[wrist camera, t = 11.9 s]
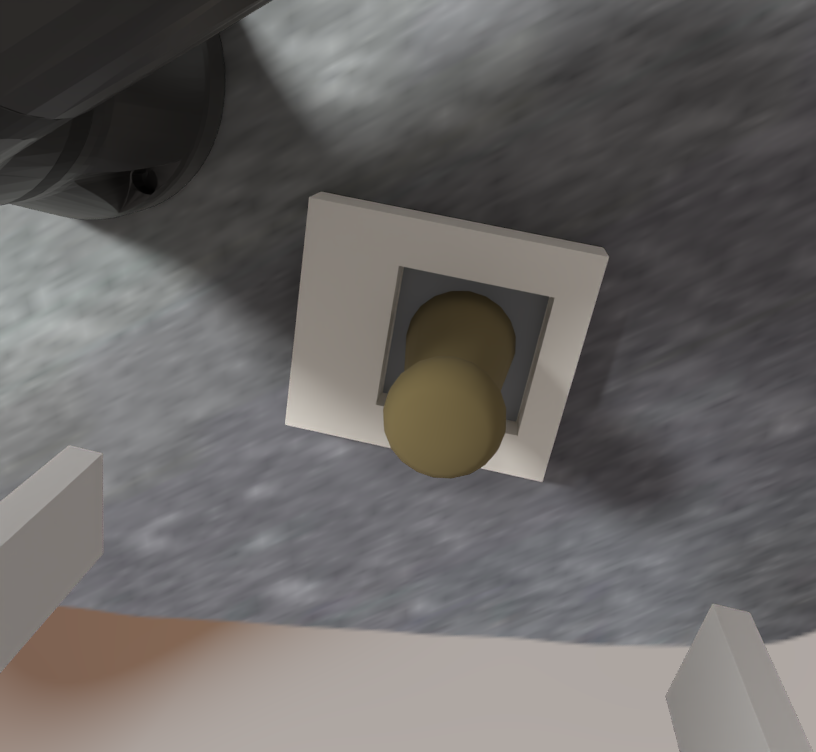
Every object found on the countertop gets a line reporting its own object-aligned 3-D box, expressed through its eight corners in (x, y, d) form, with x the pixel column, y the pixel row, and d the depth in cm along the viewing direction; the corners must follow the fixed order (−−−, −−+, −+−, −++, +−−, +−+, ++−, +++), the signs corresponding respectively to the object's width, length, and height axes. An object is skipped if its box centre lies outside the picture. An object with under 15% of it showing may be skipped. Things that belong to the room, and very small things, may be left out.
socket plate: (296, 408, 40) (285, 424, 38) (320, 191, 35) (308, 197, 33) (540, 462, 39) (542, 482, 37) (603, 247, 34) (609, 257, 32)
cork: (522, 387, 37) (526, 495, 27) (416, 400, 38) (382, 507, 28) (508, 282, 35) (505, 356, 25) (396, 298, 36) (351, 376, 26)
